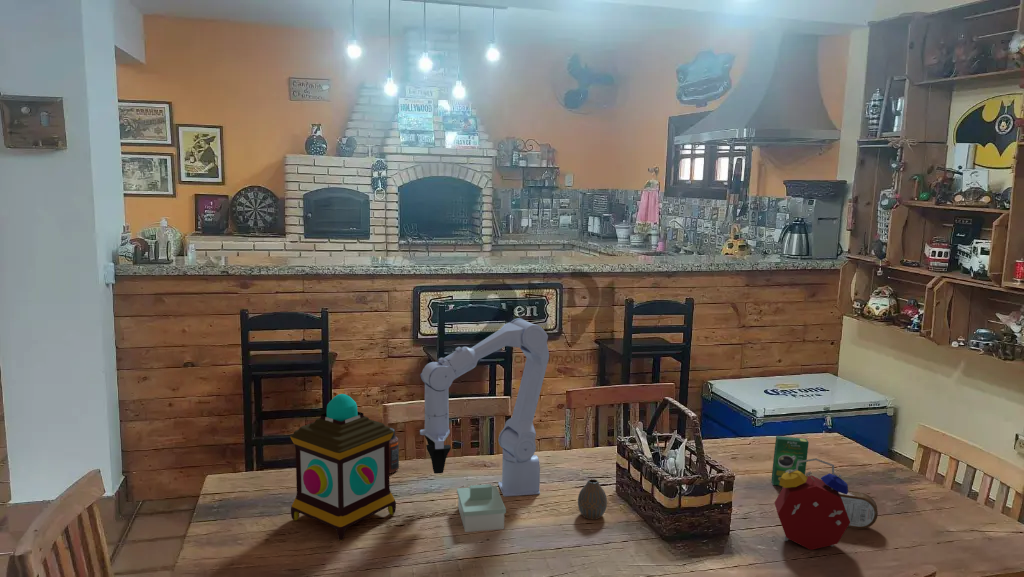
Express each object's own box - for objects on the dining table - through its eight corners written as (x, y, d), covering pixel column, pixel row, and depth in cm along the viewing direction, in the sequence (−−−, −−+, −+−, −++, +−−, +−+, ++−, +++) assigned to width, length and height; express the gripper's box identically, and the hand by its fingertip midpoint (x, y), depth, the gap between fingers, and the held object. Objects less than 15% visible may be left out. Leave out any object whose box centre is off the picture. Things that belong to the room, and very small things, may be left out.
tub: (494, 505, 177) (495, 490, 176) (504, 528, 165) (504, 512, 164) (458, 508, 175) (458, 492, 174) (465, 532, 163) (465, 515, 163)
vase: (610, 512, 174) (611, 478, 173) (601, 524, 168) (602, 489, 166) (583, 506, 177) (584, 472, 175) (573, 518, 171) (574, 483, 169)
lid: (495, 491, 176) (496, 474, 176) (505, 515, 164) (506, 496, 163) (457, 494, 174) (457, 476, 174) (464, 518, 162) (464, 499, 162)
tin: (875, 527, 169) (878, 493, 168) (877, 533, 166) (880, 498, 165) (806, 516, 174) (809, 483, 173) (806, 522, 171) (809, 488, 170)
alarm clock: (841, 540, 162) (849, 456, 159) (849, 560, 154) (858, 471, 151) (771, 532, 166) (778, 449, 162) (776, 551, 157) (783, 464, 154)
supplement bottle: (401, 466, 199) (401, 427, 198) (395, 474, 193) (395, 434, 192) (380, 464, 200) (379, 425, 198) (374, 473, 194) (373, 433, 192)
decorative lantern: (347, 491, 183) (345, 377, 178) (404, 513, 172) (403, 391, 167) (281, 521, 167) (277, 396, 162) (339, 547, 156) (337, 414, 151)
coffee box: (802, 484, 192) (806, 437, 190) (805, 488, 189) (809, 441, 187) (771, 481, 194) (774, 434, 192) (772, 485, 191) (776, 438, 189)
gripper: (418, 403, 178) (418, 455, 181) (421, 423, 164) (422, 480, 167) (446, 402, 180) (446, 454, 182) (452, 422, 166) (452, 477, 168)
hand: (437, 466), depth 174 cm, fingers open, 7 cm apart
